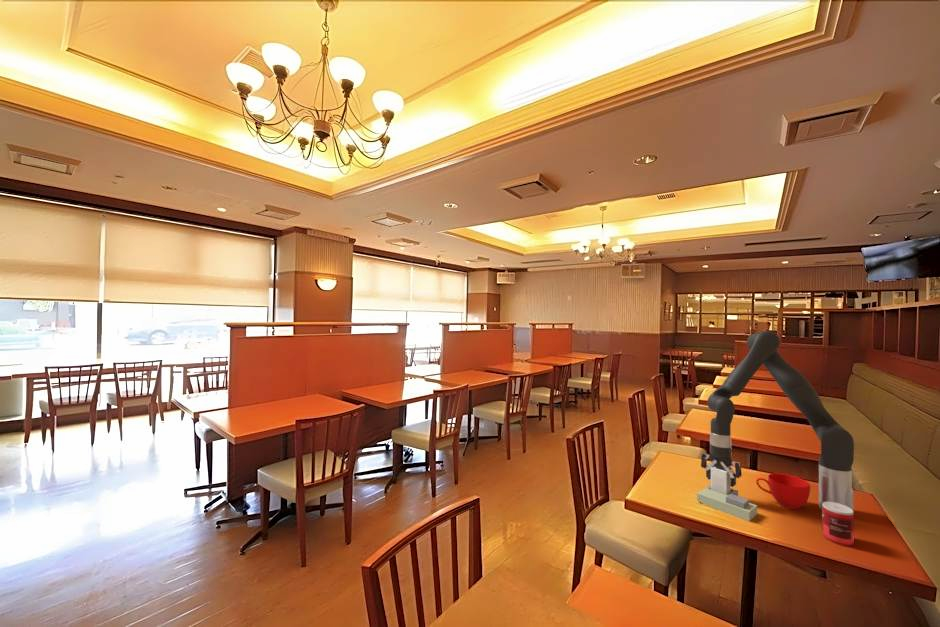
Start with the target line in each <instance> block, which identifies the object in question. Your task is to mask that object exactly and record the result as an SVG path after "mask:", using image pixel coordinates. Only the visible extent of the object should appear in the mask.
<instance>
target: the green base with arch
mask: <svg viewBox="0 0 940 627" xmlns="http://www.w3.org/2000/svg"><path fill="white" fill-rule="evenodd" d="M697 501H698V502H701V503H703V504H702V505H704V504H705V505H704V506H706V505H708V506H707V507H709V506H710V507H709V508H712V507H713V508H712V509H714V510H717V509H718V510H717V511H720V512H723V513H725V514H728V515H731V516H734V517H736V518H739V519H742V520H745V521H746V522H751V521H752V520H753V519H754V518H755V517H756V516H757V515H758V505H757V504H754V503H751V502H750V500H749V499H748V498H746V497H742V496H739V490H737V489H734V488H733V487H732V488H731V487H730V494H728V495H725V494H722V493H719V492H716V491H713V490H711V484H710V485H708V486H707V487H705V488H703V489H702V490H700V491H699V492H697V493H696V502H697ZM698 502H697V503H698ZM701 503H700V504H701Z"/></svg>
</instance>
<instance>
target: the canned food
mask: <svg viewBox="0 0 940 627" xmlns="http://www.w3.org/2000/svg"><path fill="white" fill-rule="evenodd" d="M821 520H822V521H821V524H822V525H821V526H822V527H821V529H822V530H821V532H822V535H823V537H824V538H825V539H826V540H827V541H830V542H831V543H834V544H836V545H840V546H844V547H850V546H853V545H854V542H855V540H854V538H855V514H854V509H853V510H852V509H851V508H849V507H847V506H845V505H842V504H839V503H835V502H823V504H822V510H821Z"/></svg>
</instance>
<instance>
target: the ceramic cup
mask: <svg viewBox="0 0 940 627" xmlns="http://www.w3.org/2000/svg"><path fill="white" fill-rule="evenodd" d="M759 481H763V482H765V483H766V484H767V485H768V488H769V490H768V489H765V488H764V487H762V486H761V485H760V483H759ZM755 482H756V485H757V487H758V488H759V489H761V490H762V491H764V492H765V493H768V494H770V495H772V497H773V498H774V500H775V501H776V502H777V503H778V504H779V506H782V507H784V508H787V509H791V510H798V509H800V508H802V507H803V506H804V505H805V504H807V502H808V500H809V498H810V494H811V484H810V483H809V482H808V481H807V480H806V479H803V478H800V477H798V476H795V475H790V474H785V473H779V472H778V473H777V472H773V473H770V474H768V475H767V479H766V478H764V477H757V479H756V480H755Z"/></svg>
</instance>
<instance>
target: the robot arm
mask: <svg viewBox="0 0 940 627" xmlns="http://www.w3.org/2000/svg"><path fill="white" fill-rule="evenodd" d="M746 345H747V347H748V349H749V352H747V354H746V356H745V357H744V358H743V359H742V360H741V361H740V362H739V363H738V364H737V366H735V367H734V368H733V369H732V370H731V371H730V373H729V374H728V375H727V377H726V378H725V380H724V381H723V383H722V384H721V385H720V386H719V387H717V388H716V389H714V391H712V393H711V394H710V395H709V396H708V398H707V401H706V402H707V403H706V405H707V407H708V409H710V410H711V411H714V412H715V413H716V415H715V417H713V418H712V419H711V420H710V435H709V454H708V453H707V452H704V453H702V454H701V460H700V466H701V468H703V469H704V470H705V472H706V473H705V475H706V476H705V477H706V478H707V480H710V481H711V467H713V466H715V467H716V468H720V469H723V470H724V469H725V470H726V472H727V473H729V475H730V488H731V487H732V488H733V487H736V485H737V479H739V478H741V477H743V476H742V475H743V474H742V464H741V462H740V461H734V460H732V436H731V435H732V434H731V426H732V425H731V424H732V421H733V419H734V415H735V404H734V402H733V401H732V400H731V398H733V397H737V396H740V395H741V393H742V392H743V391H744V389H745V388H746V387H747V385H748V384H749V382H750V380H752V378H753V377H754V375H755V374H756V372H757V371H758V370H759V369H760V368H761V366H762V365H763V366H764V367H765V368H766V370H767V371H768V373H769V374H770V375H771V377H772V378H773V380H775V382H776V384H777V385H778V386H779V387H780V389H781V391H782V392H783V393H784V395H785V396H786V397H787V399H788V400H790V402H791V403H792V404H793V405H794V406H795V408H796V409H797V410H798V411H799V412H801V413H802V415H803V416H804V417H805V418H806V420H807V421H808V423H809V424H810V426H811V428H812V429H813V431H814V433H815V434H816V437H817V439H818V440H819V441H820V456H819V457H818V508H819V509H820V510H821V511H822V504H823V502H835V503H839V504H842V505H845V506H847V507H849V508H851V509H852V510H853V511H854V488H852V482H853V481H852V474H853V473H852V472H853V471H852V470H853V469H852V468H853V466H854V465H853V464H854V460H855V458H854V457H855V441H854V438H853V437H854V436H852V434H851V433H850V432H849V431H848V430H846V429H845V428H844V427H843V426H842V425H840V423H838V422H837V420H836V419H834V417H833V416H832V415H831V414H830V413H829V411H828V410H827V409H826V408H825V406H824V403H823V402H822V400H821V399H820V398H821V397H820V396H819V395H818V393H817V391H816V389H815V388H814V386H813V385H812V384H811V383H810V381H809V380H808V379H807V378H806V377H805V375H803V374H802V373H801V371H799V370H798V369H796V368H795V367H793V366H792V365H791V364H790V363H788V362H787V360H785V359H784V358H783V357H782V355H781V354H780V353H779V352H778V349H779V347H780V345H781V339H780V337H779V336H778V335H777V334H776V333H775V332H774V331H770V330H764V331H758V332H754V333H752V334H750V335H749V336H748V337H747V340H746ZM708 459H709V460H710V463H709V464H708V465H707V461H708ZM732 466H733V467H732ZM734 468H735V471H734Z"/></svg>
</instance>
